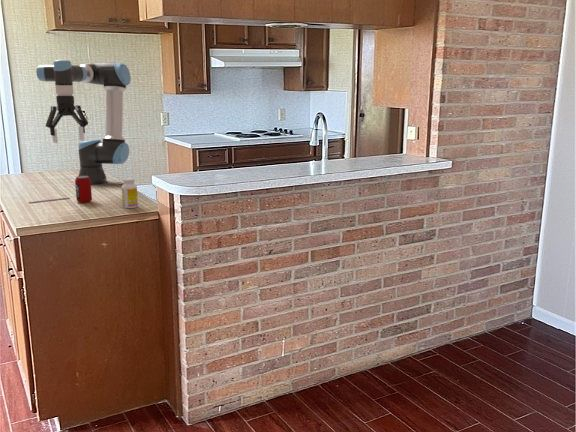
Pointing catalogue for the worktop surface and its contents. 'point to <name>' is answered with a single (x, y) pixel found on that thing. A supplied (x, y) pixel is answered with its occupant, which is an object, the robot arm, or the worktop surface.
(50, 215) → the worktop surface
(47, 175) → the worktop surface
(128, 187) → the supplement bottle
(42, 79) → the robot arm
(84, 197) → the beverage can
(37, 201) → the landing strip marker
